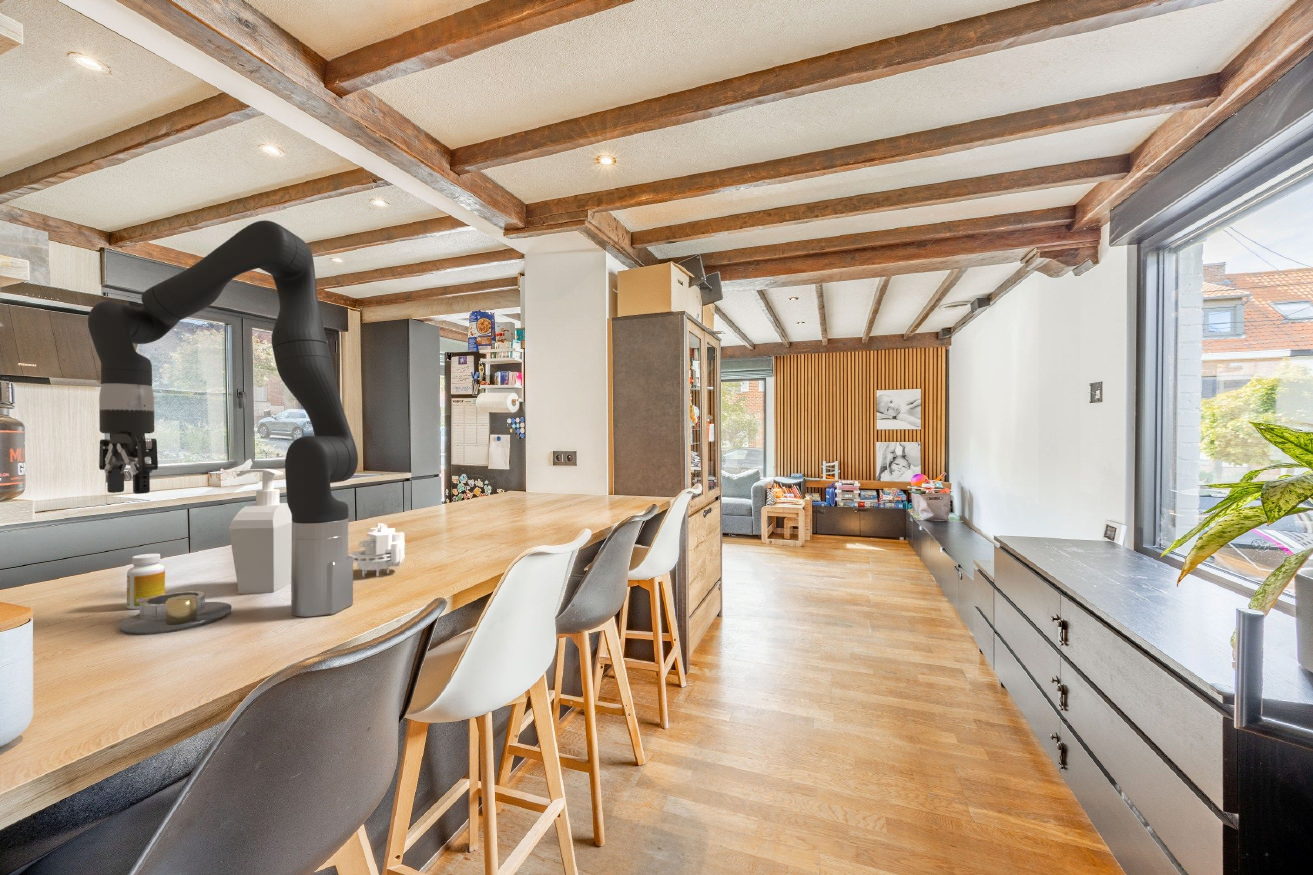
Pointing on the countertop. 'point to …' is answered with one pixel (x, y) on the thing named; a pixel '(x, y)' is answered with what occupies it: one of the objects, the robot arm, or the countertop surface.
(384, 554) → the mechanical part
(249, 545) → the soap bottle
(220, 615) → the carrier plate
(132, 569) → the supplement bottle
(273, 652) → the countertop surface
